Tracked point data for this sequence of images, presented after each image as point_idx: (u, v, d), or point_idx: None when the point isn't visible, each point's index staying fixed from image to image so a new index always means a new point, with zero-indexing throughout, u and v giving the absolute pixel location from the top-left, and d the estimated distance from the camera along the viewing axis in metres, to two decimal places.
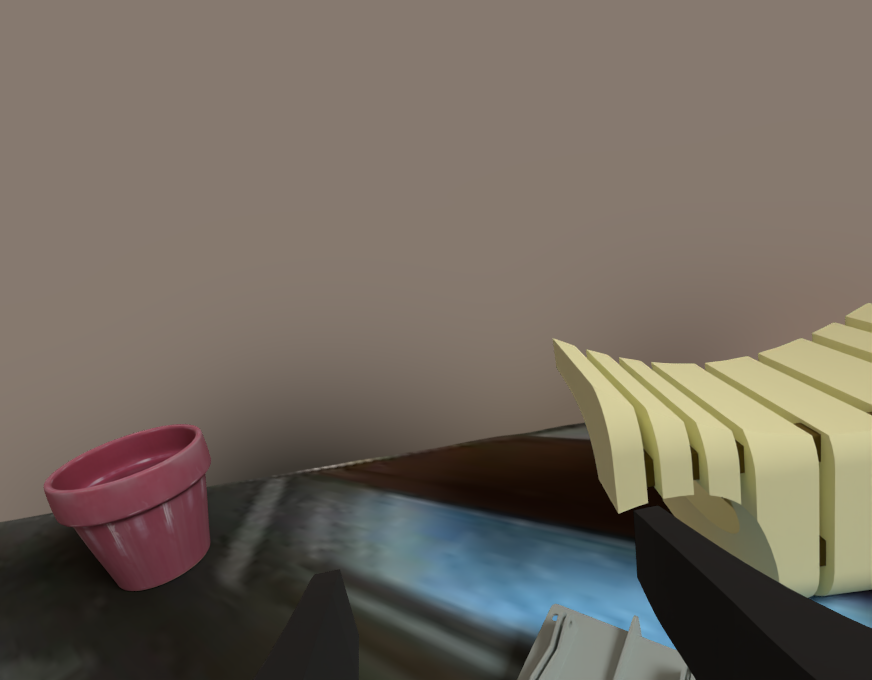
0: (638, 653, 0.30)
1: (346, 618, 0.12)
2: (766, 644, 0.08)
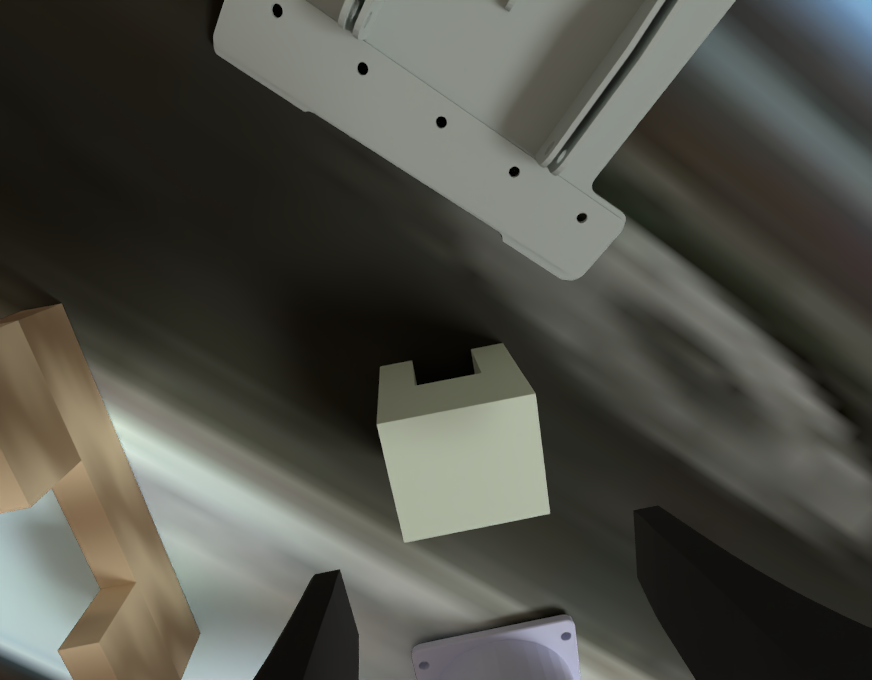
0: None
1: (346, 618, 0.12)
2: (766, 644, 0.08)
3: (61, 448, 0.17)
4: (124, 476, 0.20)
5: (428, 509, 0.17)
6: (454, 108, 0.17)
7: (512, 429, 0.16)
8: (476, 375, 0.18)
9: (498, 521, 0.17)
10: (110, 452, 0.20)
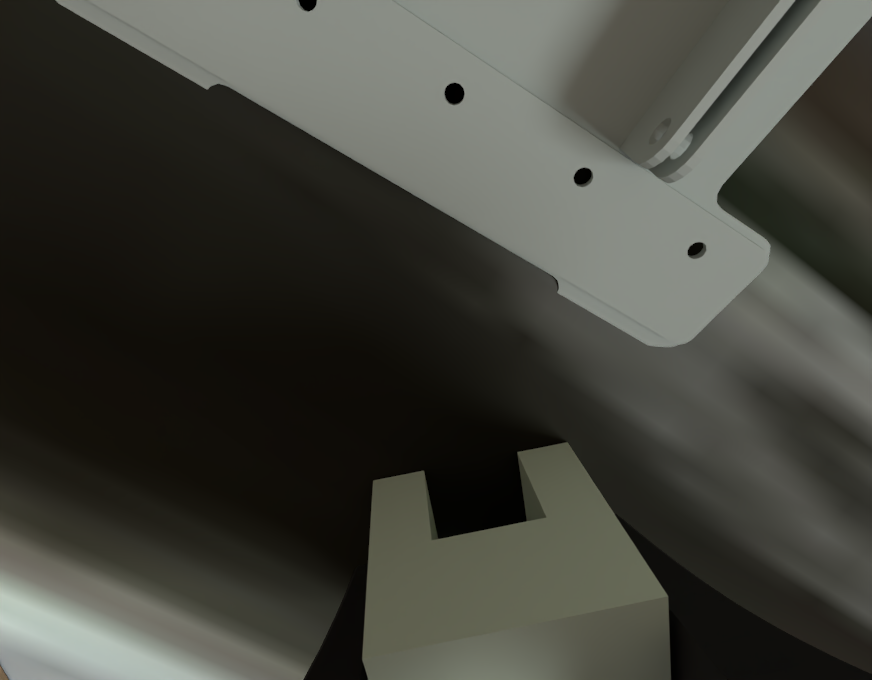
0: None
1: None
2: (702, 658, 0.08)
3: None
4: None
5: None
6: (477, 67, 0.09)
7: (620, 657, 0.09)
8: (538, 523, 0.10)
9: None
10: None
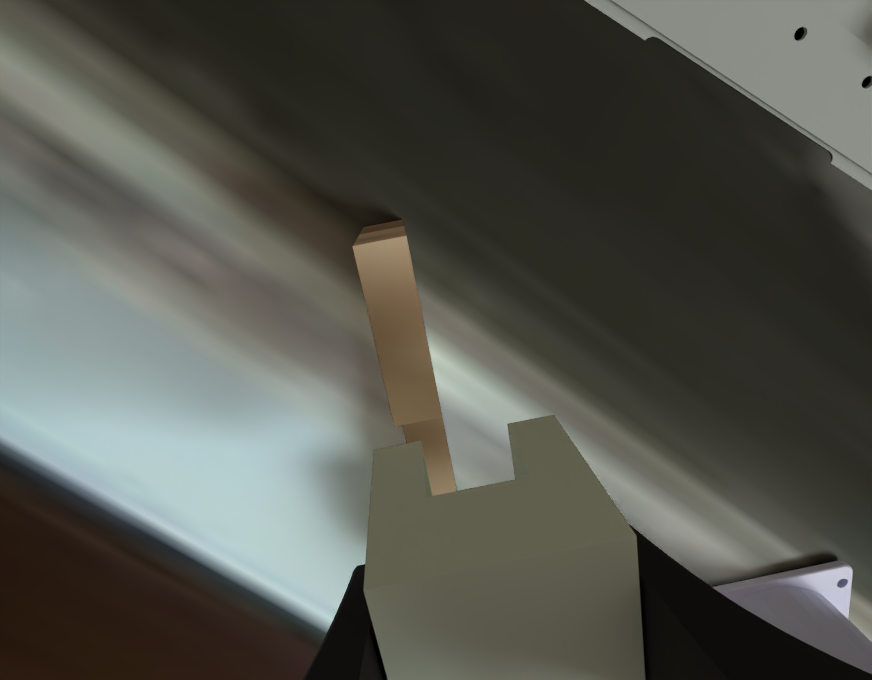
0: None
1: None
2: (702, 658, 0.08)
3: None
4: None
5: None
6: (818, 16, 0.16)
7: (593, 592, 0.10)
8: (524, 481, 0.11)
9: None
10: None
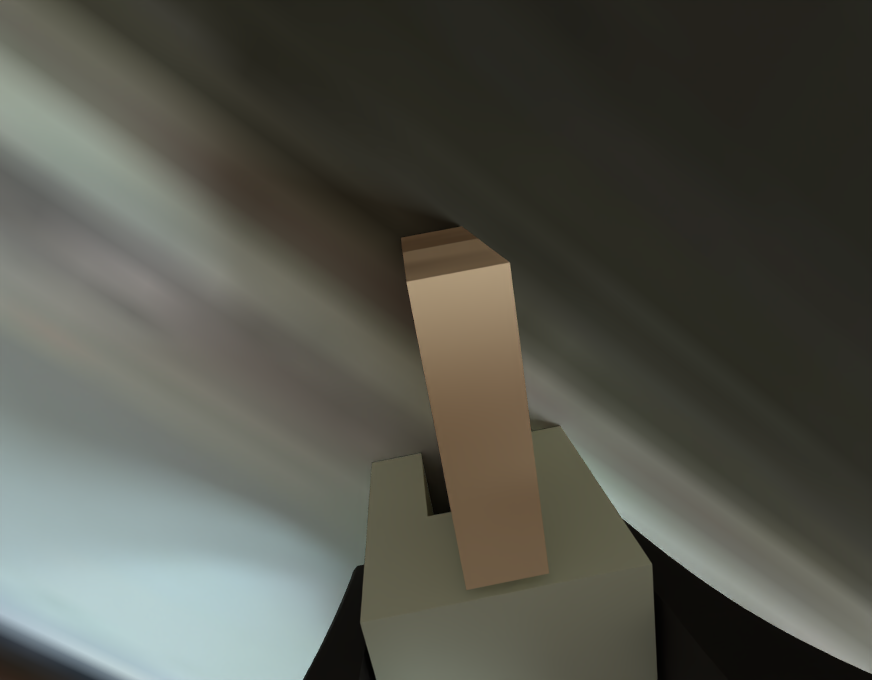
0: None
1: None
2: (702, 657, 0.08)
3: None
4: None
5: None
6: None
7: (606, 623, 0.09)
8: None
9: None
10: None
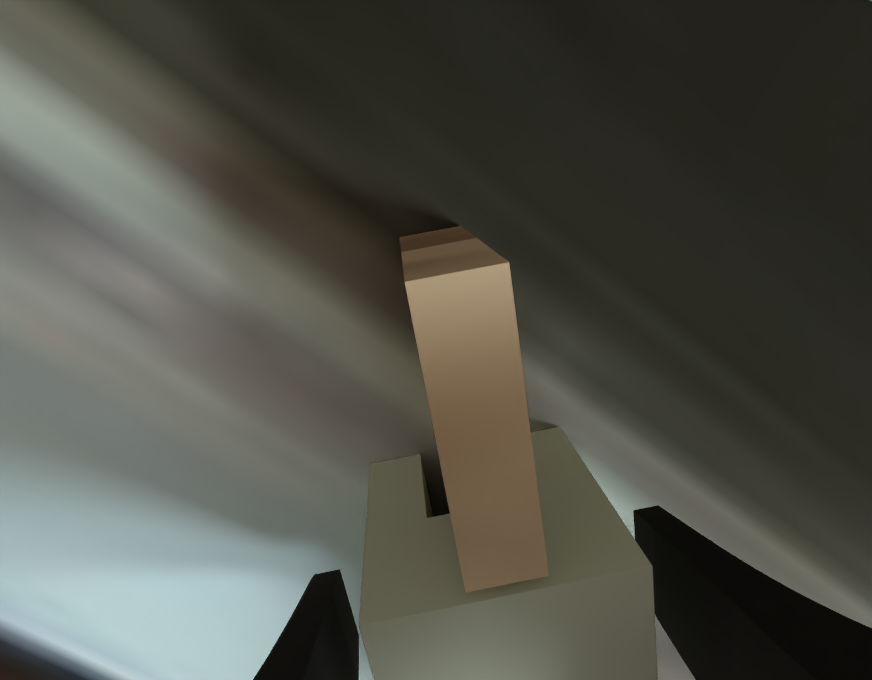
0: None
1: (346, 618, 0.12)
2: (766, 644, 0.08)
3: None
4: None
5: None
6: None
7: (606, 625, 0.09)
8: None
9: None
10: None
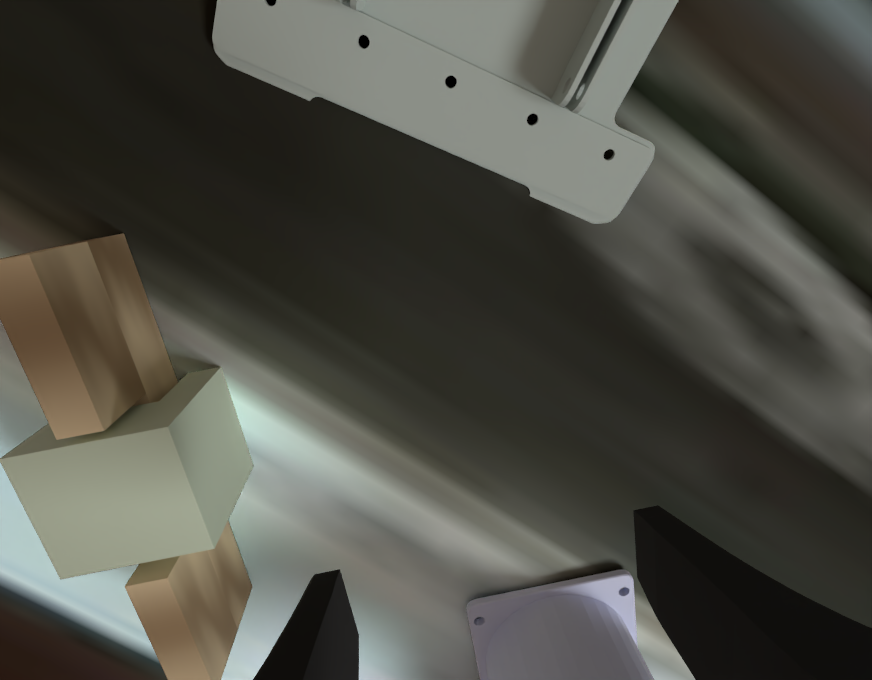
0: None
1: (346, 618, 0.12)
2: (766, 644, 0.08)
3: (128, 377, 0.17)
4: None
5: (78, 545, 0.16)
6: (462, 64, 0.17)
7: (151, 463, 0.16)
8: (151, 404, 0.17)
9: (159, 557, 0.17)
10: None
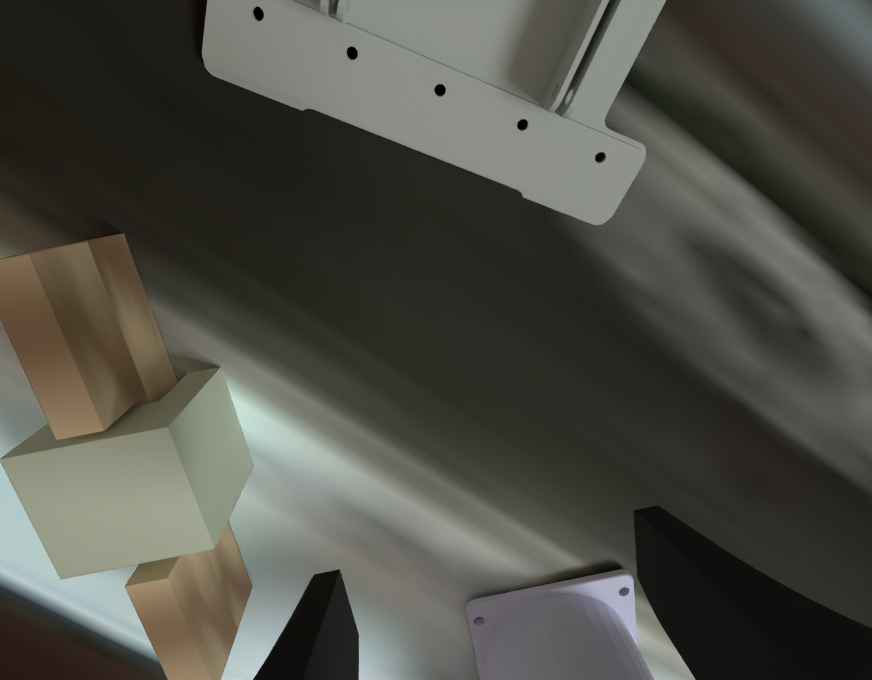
0: None
1: (346, 618, 0.12)
2: (766, 644, 0.08)
3: (128, 377, 0.17)
4: None
5: (78, 545, 0.16)
6: (450, 73, 0.17)
7: (151, 464, 0.16)
8: (151, 404, 0.17)
9: (159, 557, 0.17)
10: None
